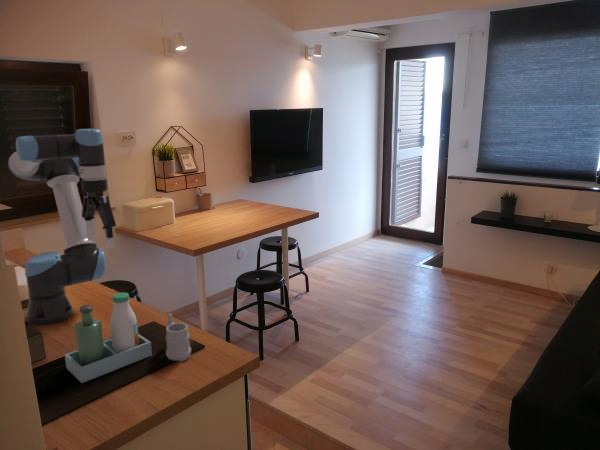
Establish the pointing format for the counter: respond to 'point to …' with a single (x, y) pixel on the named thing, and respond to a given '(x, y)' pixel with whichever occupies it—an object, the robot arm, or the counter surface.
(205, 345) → the counter surface
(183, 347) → the mug
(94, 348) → the green bottle
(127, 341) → the milk bottle
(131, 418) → the counter surface
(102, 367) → the crate
